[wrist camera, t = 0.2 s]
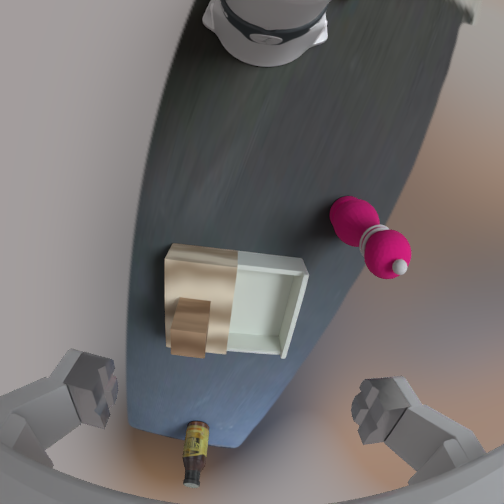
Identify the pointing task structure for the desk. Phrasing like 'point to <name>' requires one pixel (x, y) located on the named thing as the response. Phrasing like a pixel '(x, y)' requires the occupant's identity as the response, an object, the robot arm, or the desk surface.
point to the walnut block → (190, 328)
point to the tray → (266, 303)
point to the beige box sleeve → (202, 287)
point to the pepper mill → (370, 237)
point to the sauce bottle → (195, 452)
